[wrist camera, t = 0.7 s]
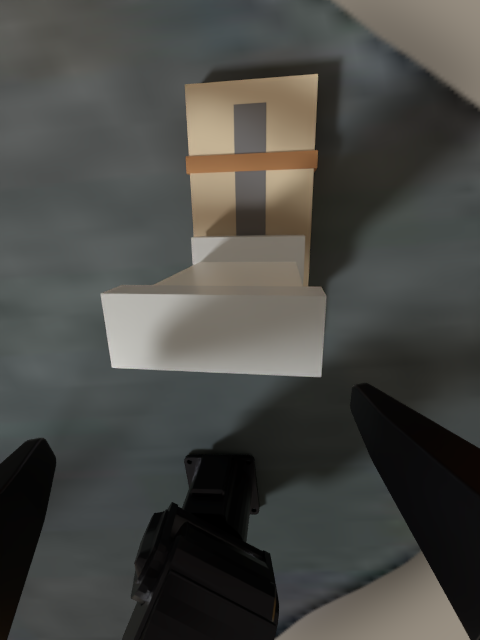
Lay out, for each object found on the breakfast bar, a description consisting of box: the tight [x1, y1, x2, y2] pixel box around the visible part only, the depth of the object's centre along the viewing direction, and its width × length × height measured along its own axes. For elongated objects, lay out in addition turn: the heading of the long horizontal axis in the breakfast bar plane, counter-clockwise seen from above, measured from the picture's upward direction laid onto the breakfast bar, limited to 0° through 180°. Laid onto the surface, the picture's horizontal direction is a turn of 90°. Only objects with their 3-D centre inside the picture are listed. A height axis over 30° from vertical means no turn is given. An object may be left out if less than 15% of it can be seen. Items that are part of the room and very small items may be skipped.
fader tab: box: [101, 235, 326, 377], centre depth 16 cm, size 5×7×13 cm
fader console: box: [185, 74, 318, 287], centre depth 22 cm, size 18×8×2 cm, turn 1°
